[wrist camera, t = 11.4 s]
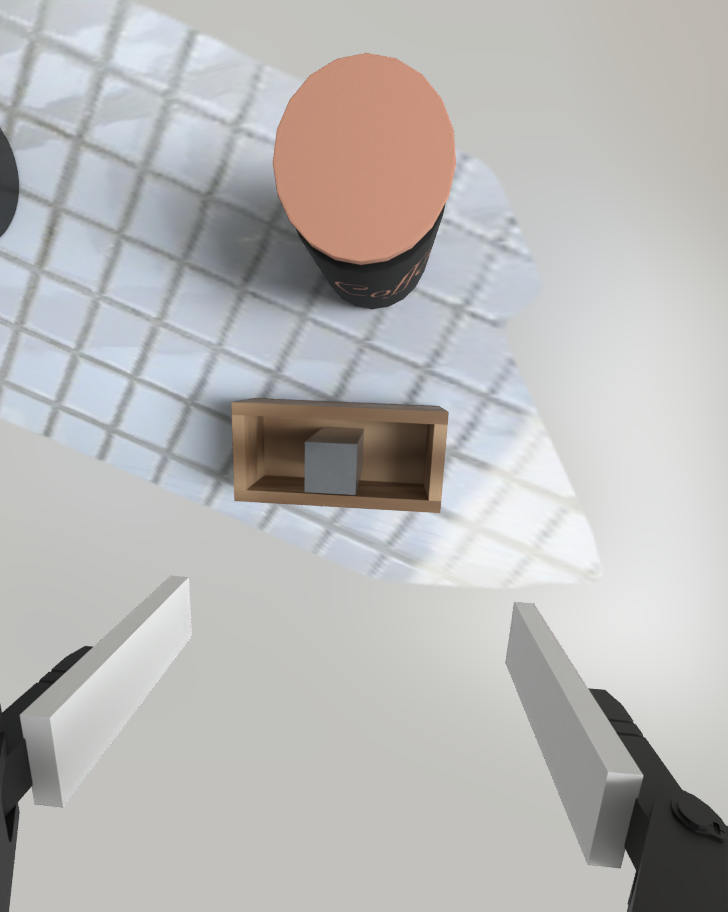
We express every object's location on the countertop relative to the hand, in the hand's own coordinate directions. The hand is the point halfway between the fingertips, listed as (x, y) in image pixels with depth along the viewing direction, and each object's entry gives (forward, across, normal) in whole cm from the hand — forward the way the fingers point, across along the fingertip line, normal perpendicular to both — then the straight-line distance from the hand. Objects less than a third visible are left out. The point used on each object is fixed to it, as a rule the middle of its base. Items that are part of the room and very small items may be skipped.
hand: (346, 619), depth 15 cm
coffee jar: (+30, -1, +22) cm, 37 cm away
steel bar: (+28, -3, +2) cm, 29 cm away
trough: (+29, -3, +2) cm, 30 cm away
